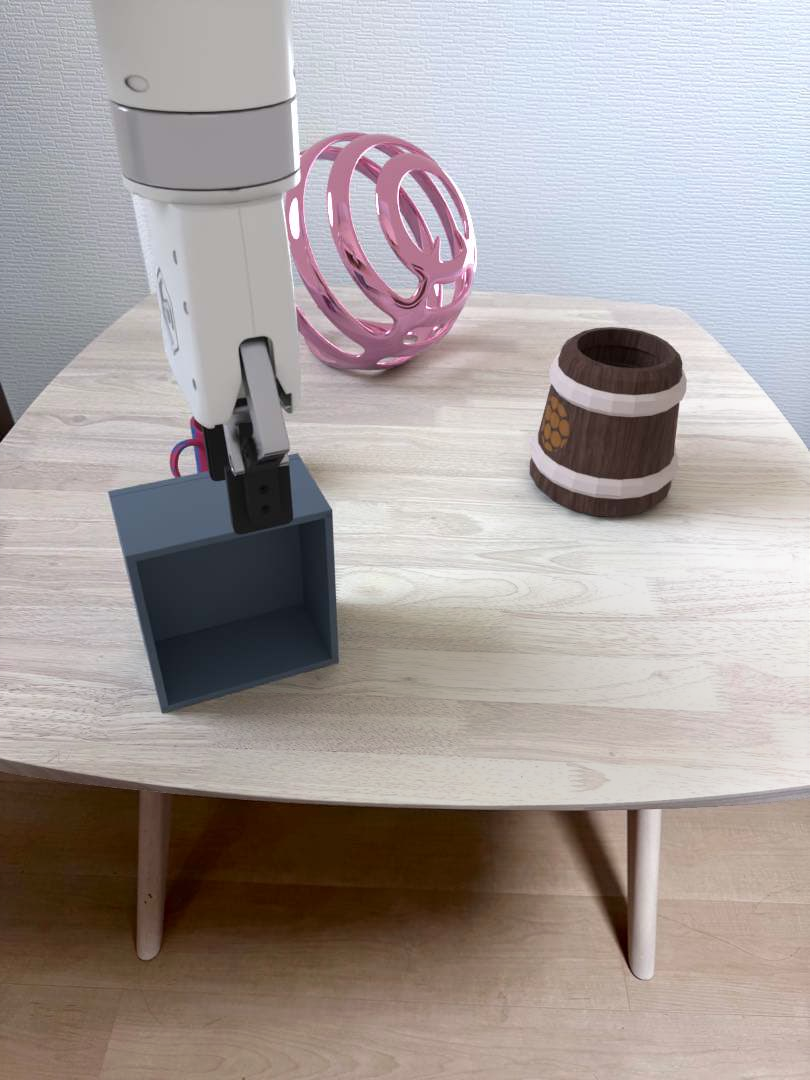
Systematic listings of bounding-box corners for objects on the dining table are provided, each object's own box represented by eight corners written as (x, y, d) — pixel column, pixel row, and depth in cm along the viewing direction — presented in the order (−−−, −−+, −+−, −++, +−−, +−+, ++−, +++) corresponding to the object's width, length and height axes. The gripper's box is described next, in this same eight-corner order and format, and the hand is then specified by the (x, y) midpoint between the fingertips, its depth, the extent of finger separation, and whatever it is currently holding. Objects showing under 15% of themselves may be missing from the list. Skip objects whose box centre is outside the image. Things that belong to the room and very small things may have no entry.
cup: (276, 479, 88) (271, 422, 84) (191, 515, 83) (181, 456, 79) (241, 453, 92) (235, 397, 88) (158, 485, 87) (147, 427, 83)
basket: (339, 662, 68) (332, 509, 58) (161, 713, 63) (124, 556, 54) (308, 600, 73) (297, 452, 64) (143, 643, 69) (107, 491, 60)
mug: (690, 522, 84) (728, 384, 74) (538, 523, 83) (558, 384, 74) (638, 421, 99) (664, 298, 90) (510, 422, 99) (524, 297, 90)
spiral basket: (185, 182, 105) (312, 65, 85) (354, 199, 124) (491, 106, 104) (238, 402, 107) (376, 338, 87) (397, 386, 126) (541, 330, 105)
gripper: (92, 110, 41) (154, 439, 52) (154, 209, 28) (218, 613, 39) (245, 100, 43) (273, 417, 54) (364, 189, 31) (368, 574, 42)
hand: (249, 496), depth 47 cm, fingers open, 4 cm apart
